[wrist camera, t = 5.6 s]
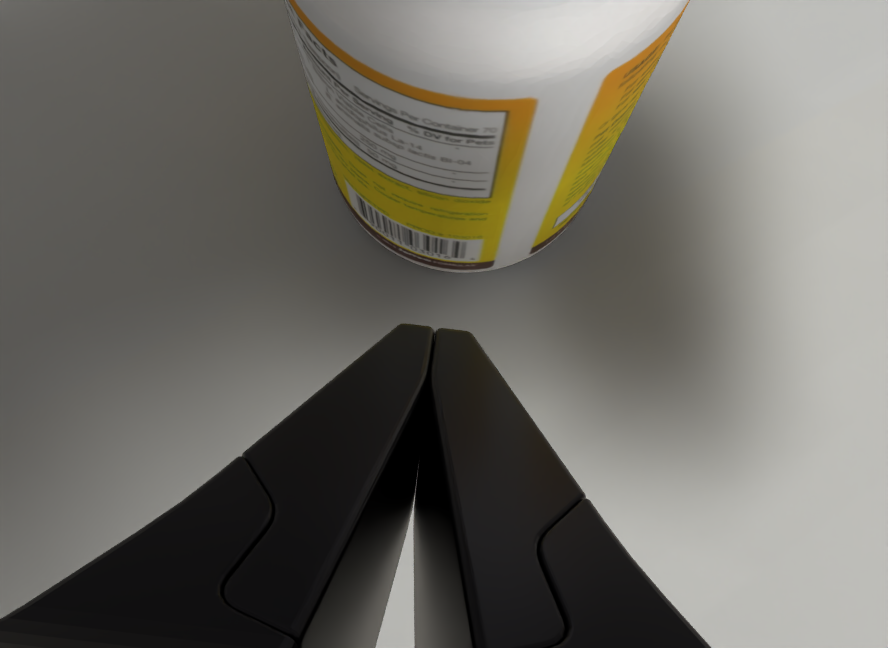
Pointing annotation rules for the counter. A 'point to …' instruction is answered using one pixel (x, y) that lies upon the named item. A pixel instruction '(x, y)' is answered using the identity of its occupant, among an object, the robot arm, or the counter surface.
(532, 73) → the supplement bottle
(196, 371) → the counter surface
